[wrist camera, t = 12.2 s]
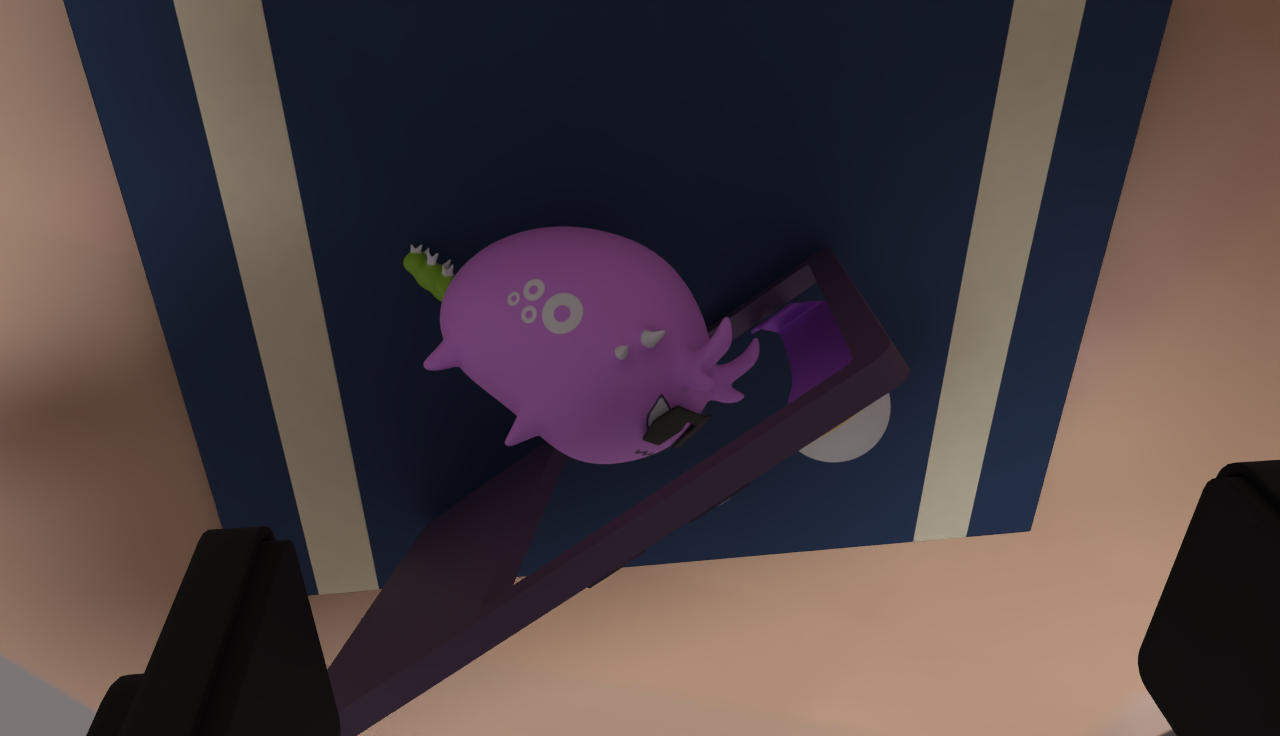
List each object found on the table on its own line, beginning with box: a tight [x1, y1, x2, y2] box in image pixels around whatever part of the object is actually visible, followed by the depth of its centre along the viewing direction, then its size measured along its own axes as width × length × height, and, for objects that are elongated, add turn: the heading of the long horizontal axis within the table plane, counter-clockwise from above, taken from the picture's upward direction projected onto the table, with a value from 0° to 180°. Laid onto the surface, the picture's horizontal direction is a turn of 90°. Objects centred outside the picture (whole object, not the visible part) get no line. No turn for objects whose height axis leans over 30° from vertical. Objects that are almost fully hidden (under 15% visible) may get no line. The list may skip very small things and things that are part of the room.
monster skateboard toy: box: [327, 226, 910, 736], centre depth 14 cm, size 7×5×9 cm
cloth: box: [63, 0, 1173, 595], centre depth 17 cm, size 16×12×1 cm
